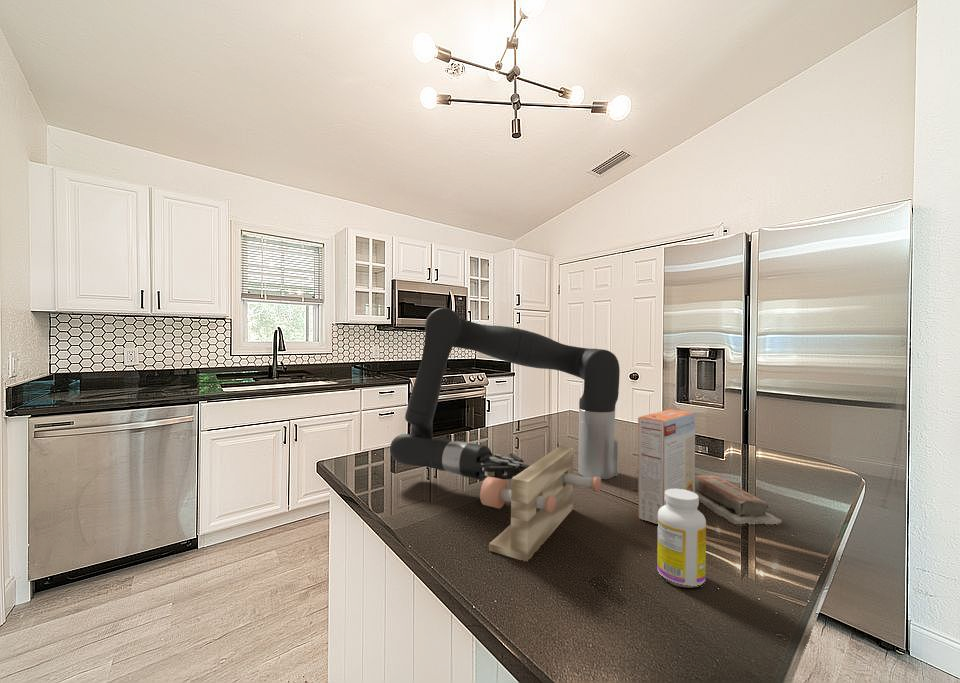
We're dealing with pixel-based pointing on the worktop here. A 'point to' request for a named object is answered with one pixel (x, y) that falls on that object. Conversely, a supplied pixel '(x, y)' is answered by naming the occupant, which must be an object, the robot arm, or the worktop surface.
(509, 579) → the worktop surface
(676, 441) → the cracker box
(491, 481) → the knob
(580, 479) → the knob
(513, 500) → the knob panel
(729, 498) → the packaged product
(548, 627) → the worktop surface
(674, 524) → the supplement bottle
